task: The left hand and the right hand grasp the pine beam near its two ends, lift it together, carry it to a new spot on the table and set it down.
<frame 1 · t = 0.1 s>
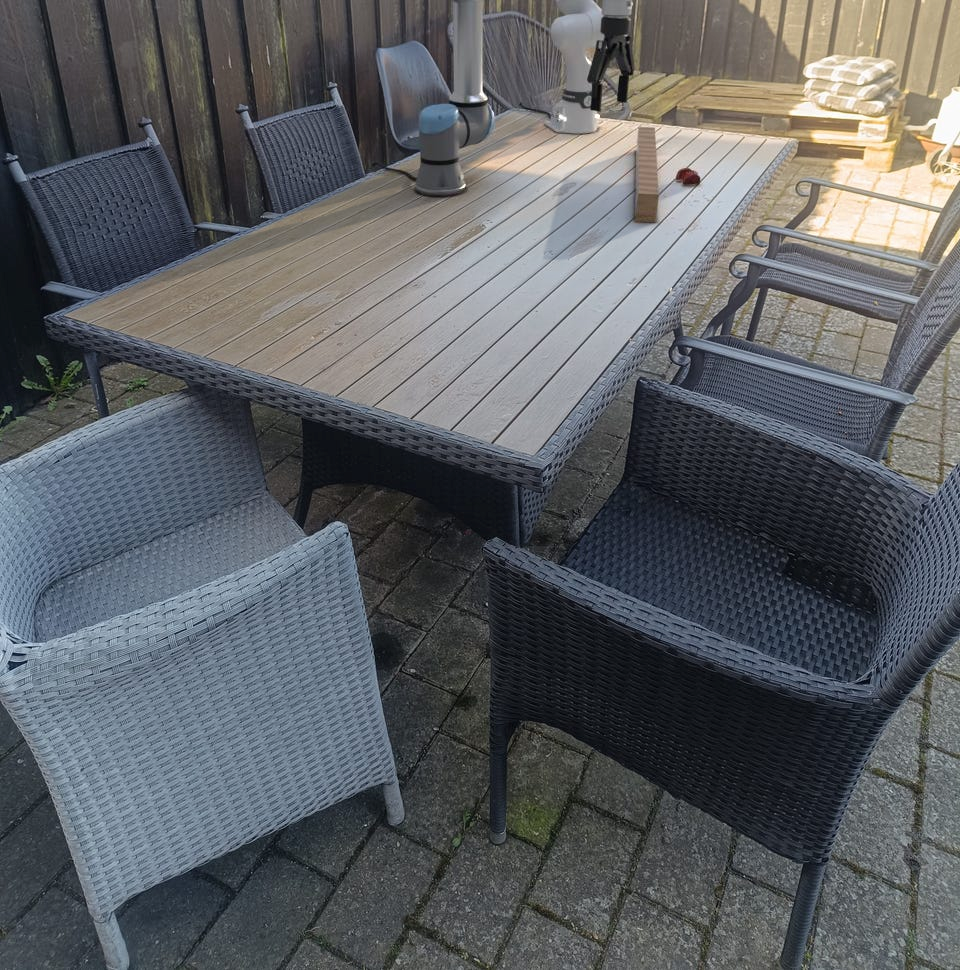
left hand: (608, 106, 226), 28 cm above the table, tool pointing down, fingers open, 13 cm apart
beam: (644, 182, 265), on the table
dark red lumpy piece: (687, 182, 264), on the table
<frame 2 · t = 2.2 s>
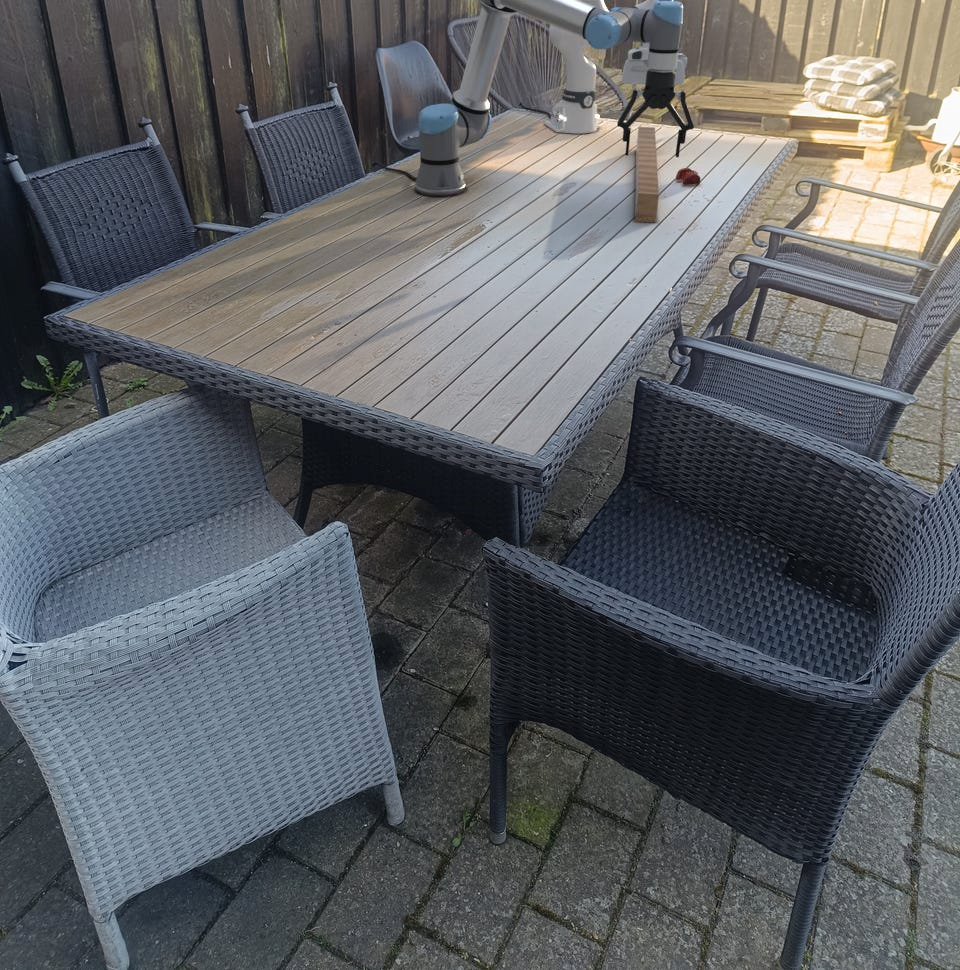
left hand: (651, 155, 231), 16 cm above the table, tool pointing down, fingers open, 13 cm apart
right hand: (650, 99, 279), 18 cm above the table, tool pointing down, fingers open, 8 cm apart
nothing on the table moved.
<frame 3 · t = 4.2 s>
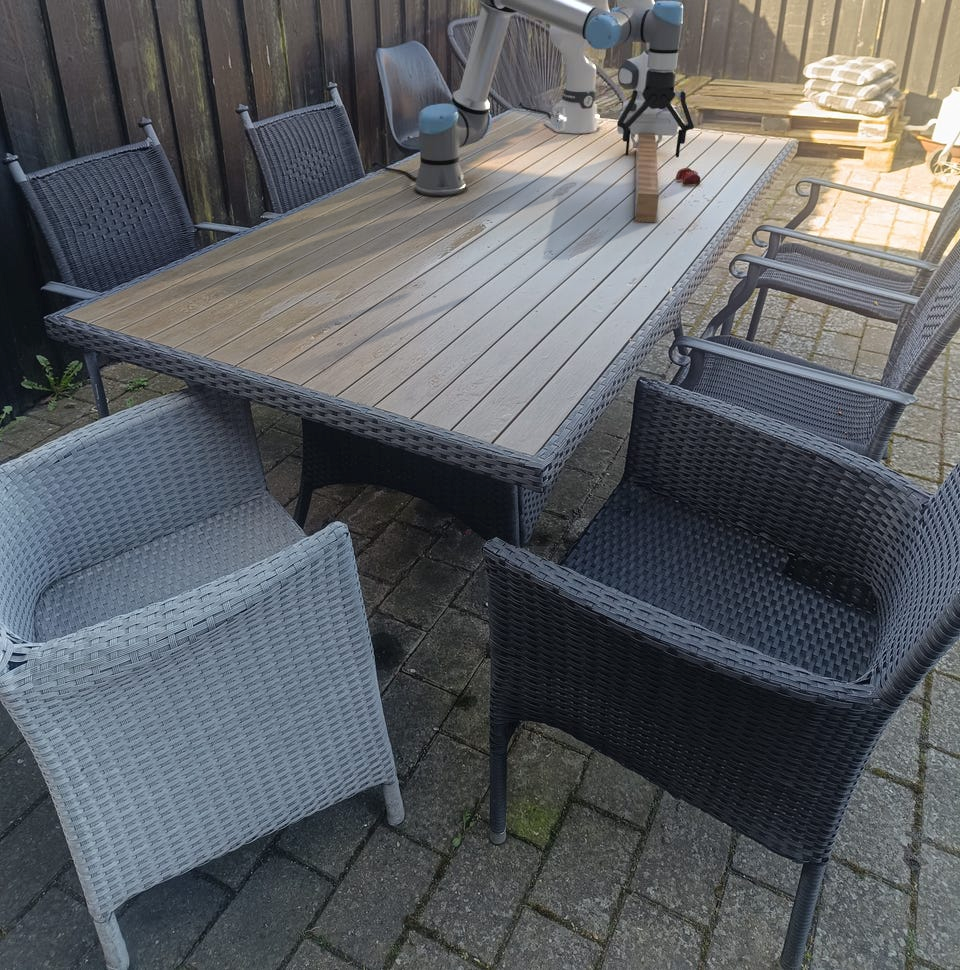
left hand: (651, 155, 231), 16 cm above the table, tool pointing down, fingers open, 13 cm apart
right hand: (645, 148, 289), 3 cm above the table, tool pointing down, fingers closed on beam, 5 cm apart
beam: (644, 182, 265), on the table, touching right hand
everything else where it was.
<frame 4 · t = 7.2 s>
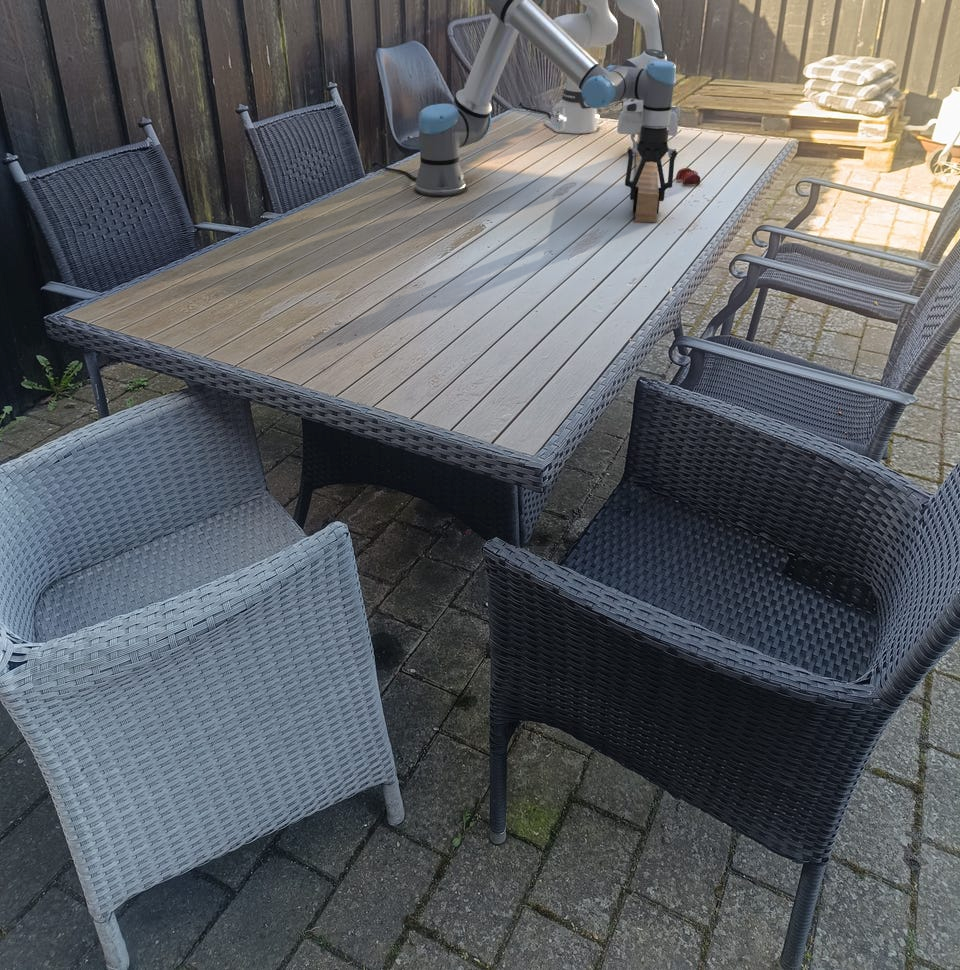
left hand: (645, 211, 240), 1 cm above the table, tool pointing down, fingers closed on beam, 6 cm apart
right hand: (645, 148, 289), 3 cm above the table, tool pointing down, fingers closed on beam, 5 cm apart
beam: (644, 182, 265), on the table, touching left hand, right hand
everything else where it was.
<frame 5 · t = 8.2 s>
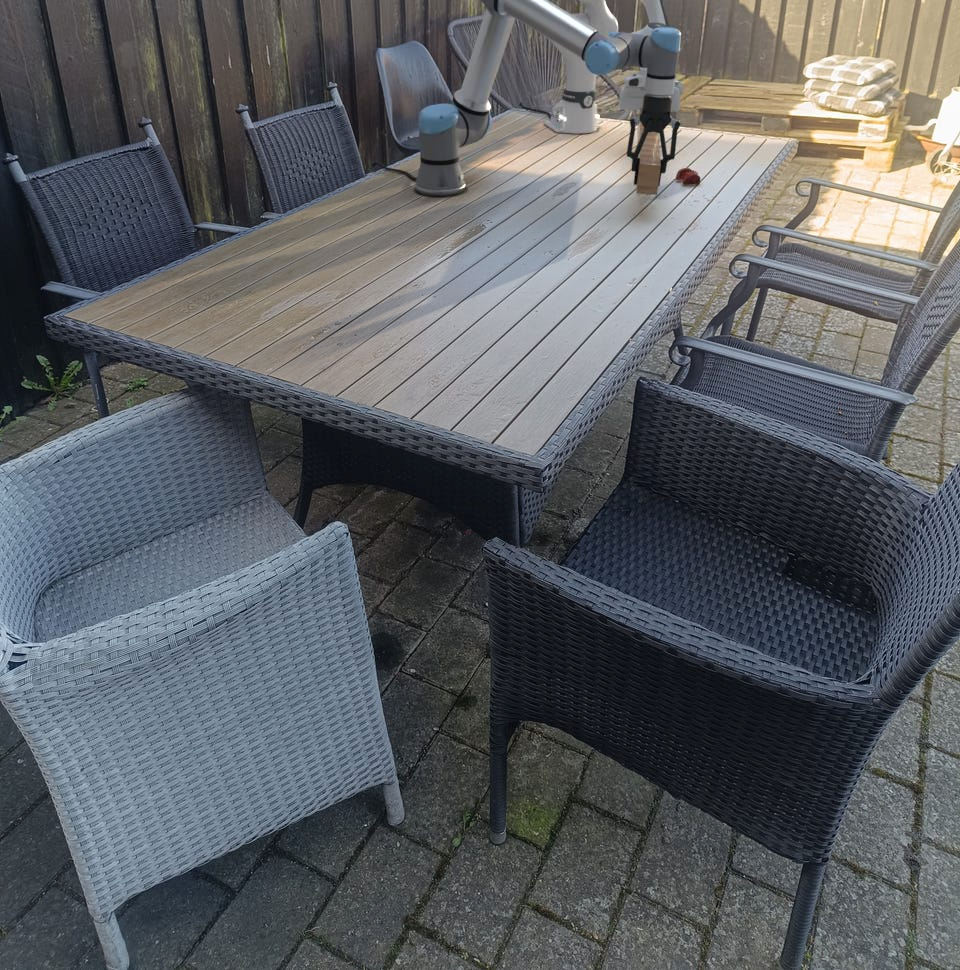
left hand: (646, 183, 236), 8 cm above the table, tool pointing down, fingers closed on beam, 6 cm apart
right hand: (646, 124, 284), 10 cm above the table, tool pointing down, fingers closed on beam, 5 cm apart
beam: (646, 156, 261), point 8 cm above the table, touching left hand, right hand
everything else where it was.
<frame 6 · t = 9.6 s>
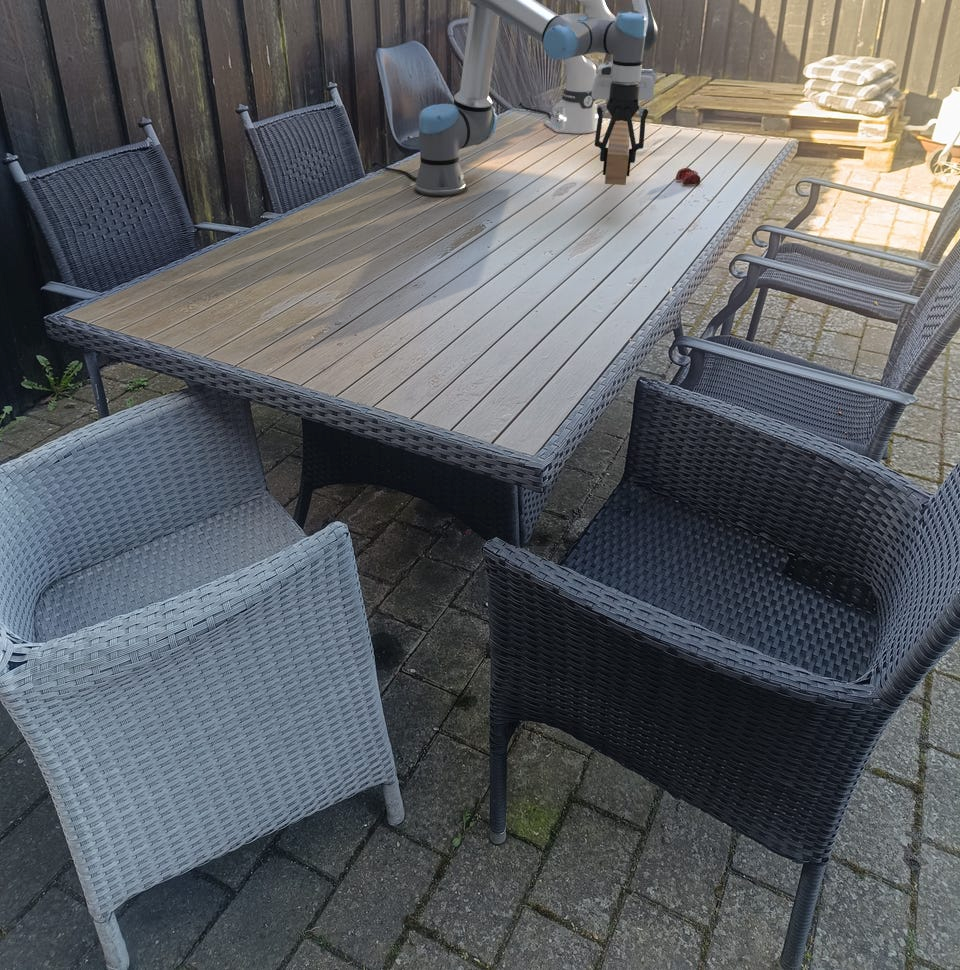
left hand: (615, 173, 231), 12 cm above the table, tool pointing down, fingers closed on beam, 6 cm apart
right hand: (620, 113, 279), 14 cm above the table, tool pointing down, fingers closed on beam, 5 cm apart
beam: (618, 146, 256), point 11 cm above the table, touching left hand, right hand
everything else where it was.
when the left hand's fingers open (2 cm above the table, at t = 12.3 s): beam stays where it is, on the table.
when the right hand's fingers open (4 cm above the table, at t = 12.4 s): beam stays where it is, on the table.
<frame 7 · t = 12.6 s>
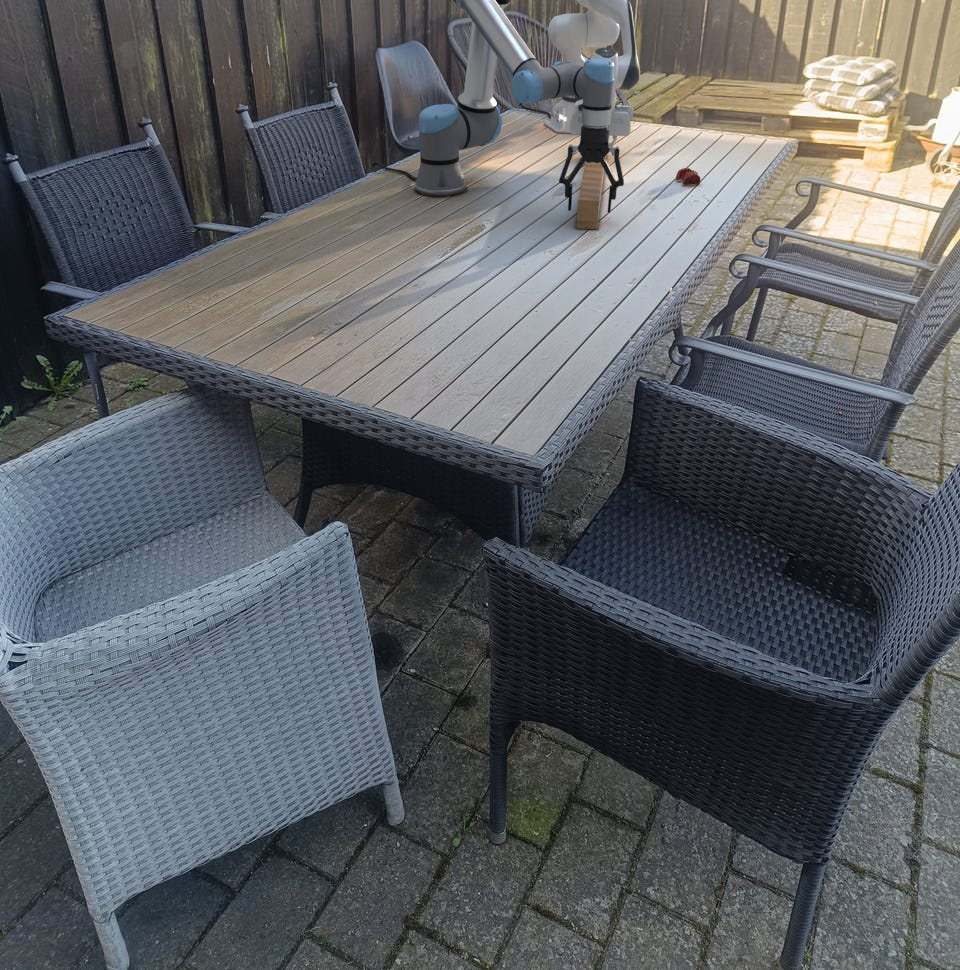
left hand: (589, 210, 233), 3 cm above the table, tool pointing down, fingers open, 10 cm apart
right hand: (598, 148, 283), 4 cm above the table, tool pointing down, fingers open, 7 cm apart
beam: (593, 187, 260), on the table
everything else where it was.
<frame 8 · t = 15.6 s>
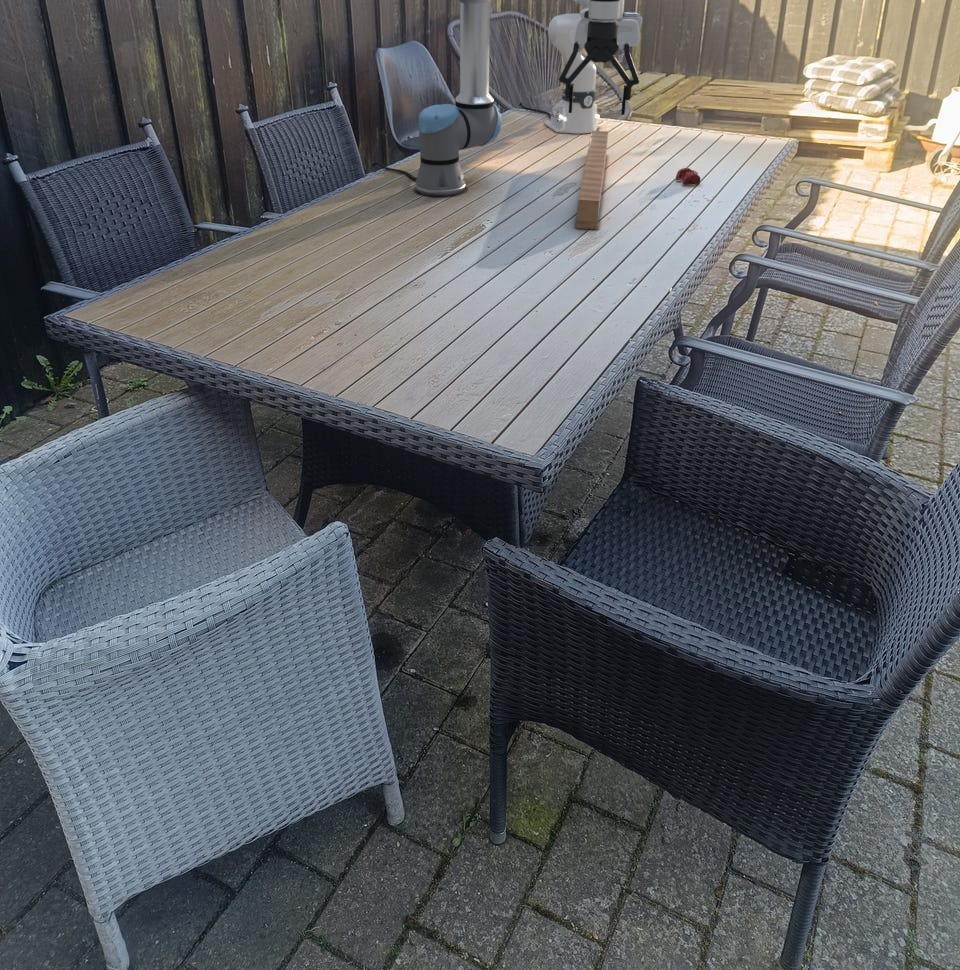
left hand: (596, 112, 219), 28 cm above the table, tool pointing down, fingers open, 13 cm apart
right hand: (605, 61, 267), 30 cm above the table, tool pointing down, fingers open, 8 cm apart
nothing on the table moved.
at the end: beam inside the target area (0.3 cm from its centre), on the table; beam tilted 0°; beam never tilted more than 2° during the clip; both hands held the beam at the same time; the left hand is holding nothing; the right hand is holding nothing; beam at rest at the end (0.0 cm/s) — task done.
